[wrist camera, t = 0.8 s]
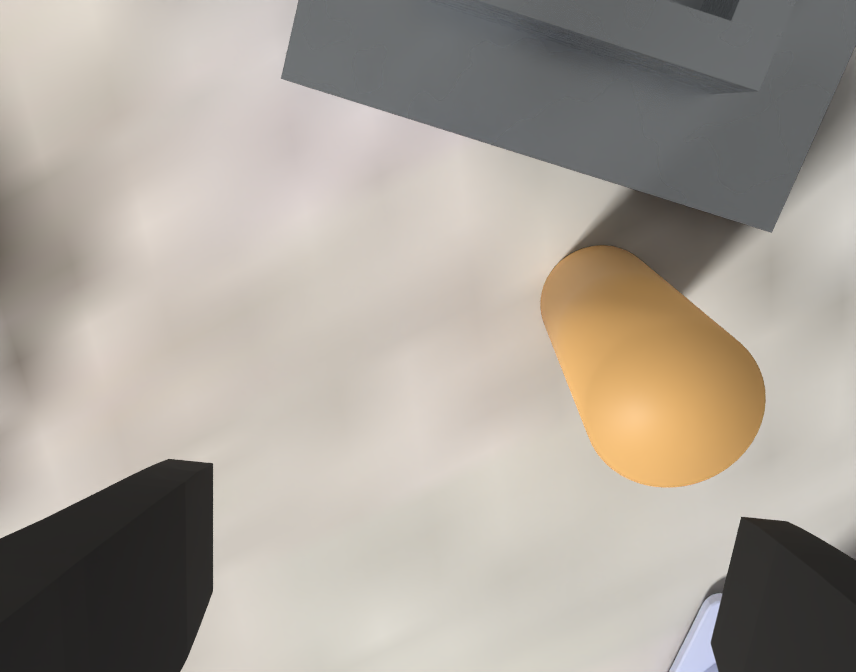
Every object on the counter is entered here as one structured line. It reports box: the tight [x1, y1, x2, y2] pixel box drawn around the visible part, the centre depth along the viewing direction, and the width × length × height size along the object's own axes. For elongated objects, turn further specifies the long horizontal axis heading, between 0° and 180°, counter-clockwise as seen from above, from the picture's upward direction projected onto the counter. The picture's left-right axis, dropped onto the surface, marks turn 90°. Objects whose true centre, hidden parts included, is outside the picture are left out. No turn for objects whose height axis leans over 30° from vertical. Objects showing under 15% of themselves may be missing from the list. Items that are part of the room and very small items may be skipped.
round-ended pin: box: [540, 245, 766, 487], centre depth 16 cm, size 3×3×7 cm
